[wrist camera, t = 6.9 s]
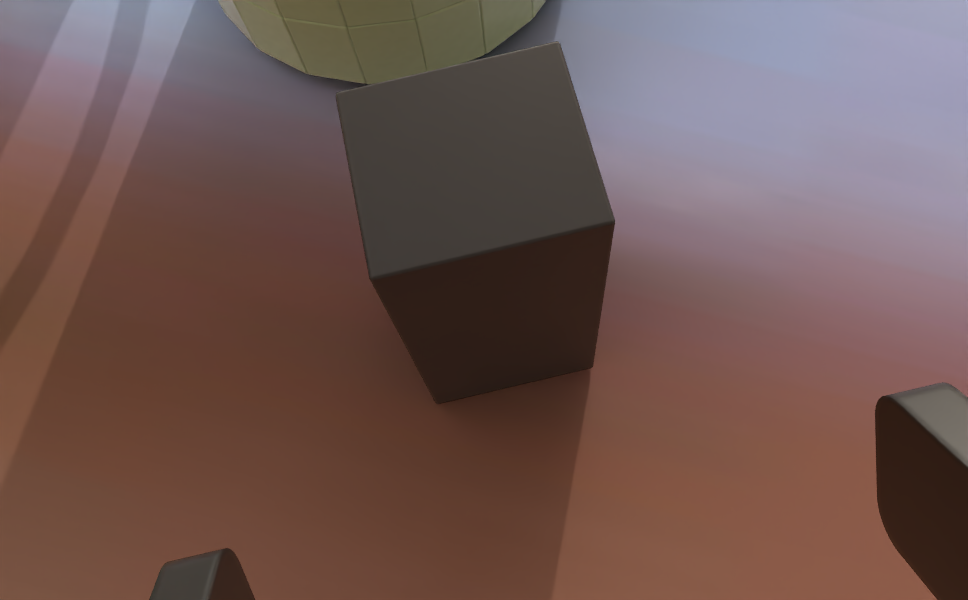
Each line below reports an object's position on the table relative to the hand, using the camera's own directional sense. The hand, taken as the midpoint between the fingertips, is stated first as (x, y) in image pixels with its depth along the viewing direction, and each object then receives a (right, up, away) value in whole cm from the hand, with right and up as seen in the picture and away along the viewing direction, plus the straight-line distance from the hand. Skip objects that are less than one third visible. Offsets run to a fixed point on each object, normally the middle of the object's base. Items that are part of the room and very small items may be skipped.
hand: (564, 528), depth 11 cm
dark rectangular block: (-1, +2, +13) cm, 14 cm away
